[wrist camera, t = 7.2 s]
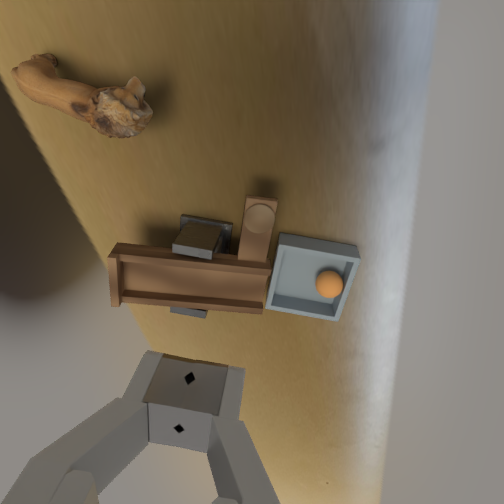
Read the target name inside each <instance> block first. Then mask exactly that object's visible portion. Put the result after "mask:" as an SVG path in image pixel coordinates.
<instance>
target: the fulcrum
mask: <svg viewBox="0 0 504 504" xmlns="http://www.w3.org/2000/svg"><path fill="white" fill-rule="evenodd" d="M232 225H233V223H229V222H223V221H218V220H212V219H207V218H201V217H195V216H190V215H184V214H182V215H181V221H180V234H179V235H178V237H177V238H176V240H175V241H174V242H173V247H172V253H178V254H183V255H189V256H195V257H200V258H206V259H212V257H213V254H214V253H221V254H229V247H230V240H231V232H232ZM170 312H172V313H178V314H183V315H189V316H194V317H199V318H206V315H207V312H208V310H204V309H193V308H181V307H170Z"/></svg>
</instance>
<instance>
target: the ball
mask: <svg viewBox="0 0 504 504" xmlns="http://www.w3.org/2000/svg"><path fill="white" fill-rule="evenodd" d="M315 286H316V290H317V291H318V293H319V294H320V295H321V296H323V297H326V298H334V297H336V296H338V295H339V294H340V293H341V291H342V289H343V280H342V278H341V276H340V275H339V274H338V273H336V272H334V271H324V272H322V273H321V274H319V275H318V277H317V279H316V282H315Z"/></svg>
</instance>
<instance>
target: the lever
mask: <svg viewBox="0 0 504 504" xmlns="http://www.w3.org/2000/svg"><path fill="white" fill-rule="evenodd" d="M277 203H278V201H277V199H274V198H267V197H259V196H251V195H246V202H245V209H244V216H243V222H242V229H241V236H240V242H239V249H238V255H230V254H221V253H214V254H213V257H212V259H206V258H200V257H195V256H189V255H183V254H178V253H172V248H164V247H155V246H146V245H136V244H127V243H118V242H117V244H116V245H115V247H114V248H113V250H112V251H111V253H110V254H109V256H108V257H107V259H108V272H109V284H110V296H111V306H113V307H119V306H120V304H121V302H124V303H136V304H147V305H158V306H170V307H181V308H193V309H204V310H216V311H227V312H239V313H250V314H262V312H263V304H262V301H263V297H264V292H265V287H266V282H267V277H268V276H270V274H271V264H270V259H268V258H267V253H268V248H269V243H270V238H271V233H272V228H273V225H274V222H275V213H276V208H277Z"/></svg>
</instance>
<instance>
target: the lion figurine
mask: <svg viewBox="0 0 504 504" xmlns="http://www.w3.org/2000/svg"><path fill="white" fill-rule="evenodd" d="M56 65H57V62H56V58H55V57H54V56H53V55H51V54H42V55H38V54H35V55H32V56H31V60H28V61H24V62H22V63H20V64H19V66H18V67H15V68H13V69H12V71H11V74H12V76H13V78H14V79H15V81H16V82H17V86H18V88H19V89H20V90H21V92H22V93H23V94H24V95H26V96H27V97H29V98H30V99H31V100H33V101H35V102H37V103H40V104H44V105H48V106H51V107H53V108H56V109H58V110H60V111H62V112H64V113H66V114H68V115H70V116H72V117H75V118H77V119H80V120H82V121H85V122H88V123H90V125H91V126H92V128H95V129H97V131H98V132H100V133H101V134H103V135H107V136H108V137H110V138H111V137H117V138H125V137H127V138H129V137H130V136H136V135H138V134H139V133H141V131H142V130H144V129H145V127H146V125H147V124H148V122H149V121H150V119H151V117H152V114H153V111H152V109H151V108H150V106H149V105H148V104H147V103H146V102H145V101H144V96H145V90H146V89H145V86H144V85H143V84H142V83H141V81H140V80H139V79H138V78H137V77H132V78H131V79H130V80H129V81H128V83H127V85H126V86H123V87H118V86H112V87H103V88H99V89H96V88H95V87H92V86H90V85H88V84H85V83H82V82H78V81H74V80H69V79H61V78H59V77H57V76H56V73H55V69H54V67H55V66H56Z"/></svg>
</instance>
